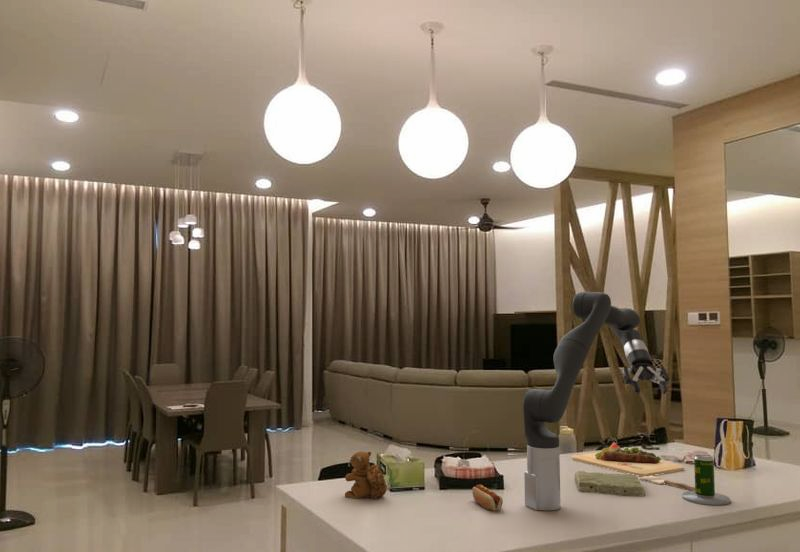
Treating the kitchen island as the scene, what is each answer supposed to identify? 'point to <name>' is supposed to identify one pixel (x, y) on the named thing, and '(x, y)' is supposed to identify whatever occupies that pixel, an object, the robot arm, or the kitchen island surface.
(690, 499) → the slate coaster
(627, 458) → the cutting board
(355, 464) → the stuffed squirrel
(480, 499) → the food
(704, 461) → the beer can
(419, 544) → the kitchen island surface
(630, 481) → the decorative tile
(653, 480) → the beech turner
